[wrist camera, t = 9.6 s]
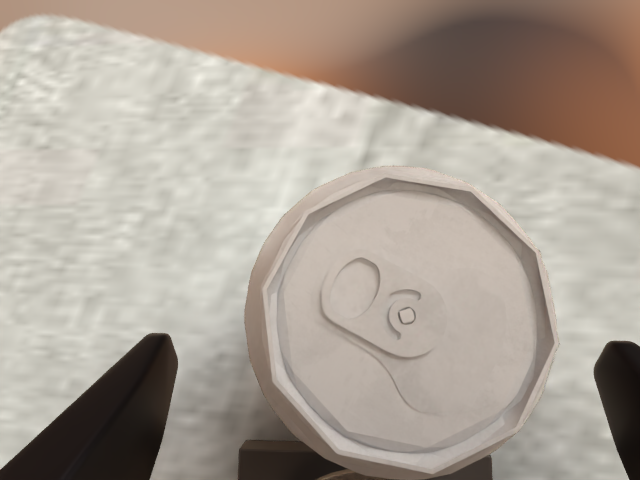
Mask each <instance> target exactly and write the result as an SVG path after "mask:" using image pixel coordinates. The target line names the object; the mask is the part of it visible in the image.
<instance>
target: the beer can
mask: <svg viewBox="0 0 640 480" xmlns="http://www.w3.org/2000/svg"><path fill="white" fill-rule="evenodd" d="M245 330H246V337H247V344H248V351H249V358H250V362H251V364H252V367H253V370H254V372H255V375H256V377H257V380H258V382H259V385H260V387H261V390H262V392H263V395H264V396H265V398H266V399H267V401H268V403H269V404H270V406H271V407H272V409H273V410H274V412H275V413H276V414H277V416H278V417H279V418H280V419H281V420H282V422H283V423H284V424H285V425H286V427H287V428H288V429H289V430H290V432H292V433H293V434H294V435H295V436H296V437H297V438H298V439H300V440H301V441H302V442H304V443H305V444H306V445H308V446H309V447H310V448H311V449H313V450H314V451H315V452H317V453H318V454H319V455H321V456H322V457H323V458H325V459H327V460H329V461H332V462H334V463H336V464H339V465H341V466H343V467H345V468H348V469H350V470H352V471H354V472H357V473H360V474H362V475H365V476H372V477H379V478H386V479H397V480H422V479H429V478H433V477H438V476H443V475H447V474H451V473H453V472H455V471H457V470H459V469H461V468H463V467H465V466H467V465H469V464H471V463H473V462H476V461H478V460H480V459H482V458H483V457H485V456H487V455H489V454H490V453H492V452H494V451H496V450H497V449H498V448H499V447H500V446H502V445H503V444H504V443H505V442H506V441H508V440H509V439H510V438H511V437H512V436H514V435H515V434H516V433H517V432H519V431H520V429H521V427H522V425H523V424H524V423H525V422H526V420H527V419H528V417H529V416H530V414H531V412H532V411H533V409H534V407H535V406H536V404H537V403H538V401H539V399H540V398H541V396H542V393H543V390H544V387H545V384H546V381H547V378H548V375H549V372H550V369H551V366H552V363H553V360H554V356H555V353H556V351H557V349H558V347H559V344H560V343H559V339H558V334H557V328H556V315H555V309H554V303H553V298H552V294H551V289H550V284H549V279H548V274H547V270H546V268H545V266H544V264H543V262H542V258H541V254H540V251H539V250H538V249H537V248H536V247H535V245H534V244H533V242H532V241H531V239H530V238H529V237H528V235H527V234H526V233H525V232H524V231H523V230H522V228H521V227H520V226H519V225H518V224H517V222H516V221H515V220H514V219H513V218H512V217H511V216H510V215H509V213H508V212H507V211H506V210H505V209H504V208H503V207H502V206H501V205H500V204H499V203H497V202H496V201H494V200H493V199H491V198H490V197H488V196H487V195H485V194H484V193H482V192H481V191H479V190H478V189H476V188H475V187H473V186H472V185H470V184H469V183H467V182H465V181H462V180H459V179H456V178H453V177H450V176H448V175H445V174H442V173H439V172H436V171H433V170H430V169H426V168H416V167H406V166H382V167H375V168H370V169H365V170H360V171H355V172H351V173H349V174H346V175H344V176H342V177H340V178H337V179H335V180H333V181H331V182H328V183H326V184H324V185H322V186H320V187H318V188H316V189H315V190H313V191H311V192H310V193H309V194H307V195H306V196H305V197H304V198H303V199H302V200H300V201H299V202H298V203H297V204H296V205H295V206H294V207H293V208H291V209H290V210H289V211H288V212H287V213H286V214H285V215H284V216H283V217H282V218H281V219H280V221H279V222H278V224H277V225H276V226H275V228H274V229H273V231H272V232H271V233H270V235H269V236H268V238H267V239H266V241H265V242H264V244H263V246H262V249H261V251H260V253H259V256H258V258H257V260H256V263H255V265H254V267H253V269H252V272H251V276H250V282H249V286H248V293H247V299H246V305H245Z"/></svg>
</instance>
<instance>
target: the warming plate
mask: <svg viewBox="0 0 640 480" xmlns="http://www.w3.org/2000/svg"><path fill="white" fill-rule="evenodd" d="M316 480H397V479H386V478H379V477H372V476H365V475H362V474H360V473H357V472H354V471H352V470H350V469H346V470H341V471H337V472H333V473H330V474H328V475H325V476H322V477H320V478H318V479H316Z"/></svg>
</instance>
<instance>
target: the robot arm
mask: <svg viewBox="0 0 640 480" xmlns="http://www.w3.org/2000/svg"><path fill="white" fill-rule="evenodd" d="M177 369H178V359H177V355H176V352H175V349H174V346H173V343H172V340H171V337H170V336H169V335H168V334H166V333H150V334H148V335H146V336H145V337H144V338H143V339H142V340H141V341H140V342H139V343H137V344H136V345H135V346H134V347H133V348H132V349H131V350H130V351H129V352H128V353H127V354H126V355H124V356H123V357H122V358H121V359H120V360H119V361H118V362H117V363H116V364H115V365H114V366H113V367H111V368H110V369H109V370H108V371H107V372H106V373H105V374H104V375H103V376H102V377H101V378H99V379H98V380H97V381H96V382H95V383H94V384H93V385H92V386H91V387H90V388H89V389H88V390H86V391H85V392H84V393H83V394H82V395H81V396H80V397H79V398H78V399H77V400H76V401H75V402H73V403H72V404H71V405H70V406H69V407H68V408H67V409H66V410H65V411H64V412H63V413H62V414H60V415H59V416H58V417H57V418H56V419H55V420H54V421H53V422H52V423H51V424H50V425H49V426H47V427H46V428H45V429H44V430H43V431H42V432H41V433H40V434H39V435H38V436H37V437H35V438H34V439H33V440H32V441H31V442H30V443H29V444H28V445H27V446H26V447H25V448H24V449H22V450H21V451H20V452H19V453H18V454H17V455H16V456H15V457H14V458H13V459H12V460H11V461H9V462H8V463H7V464H6V465H5V466H4V467H3V468H2V469H1V470H0V480H149V479H150V476H151V473H152V470H153V467H154V464H155V461H156V458H157V455H158V452H159V449H160V445H161V442H162V439H163V435H164V430H165V426H166V421H167V416H168V412H169V407H170V402H171V397H172V393H173V388H174V383H175V378H176V374H177ZM594 378H595V381H596V385H597V388H598V391H599V394H600V397H601V401H602V404H603V407H604V410H605V414H606V417H607V420H608V423H609V427H610V430H611V433H612V436H613V439H614V442H615V445H616V448H617V451H618V453H619V456H620V458H621V461H622V463H623V466H624V468H625V470H626V473H627V475H628V477H629V480H640V346H638V345H637V344H635V343H633V342H630V341H610V342H608V343H607V344H606V346H605V348H604V349H603V351H602V353H601V355H600V357H599V358H598V360H597V362H596V364H595V366H594Z"/></svg>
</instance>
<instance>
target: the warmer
mask: <svg viewBox="0 0 640 480" xmlns="http://www.w3.org/2000/svg"><path fill="white" fill-rule="evenodd" d="M346 469H348V468H345V467H343V466H341V465H339V464H336V463H334V462H332V461H329V460H327V459H325V458H323V457H322V456H321V455H319V454H318V453H317V452H315V451H314V450H313V449H311V448H310V447H309V446H308V445H306V444H305V443H304V442H301V441H263V440H246V441H245V442H244V444H243V445H242V447H241V448H240V450H239V465H238V480H316V479H318V478H320V477H322V476H325V475H328V474H330V473H333V472H337V471H341V470H346ZM422 480H492V458H491V456H490V455H487V456H485V457H483V458H482V459H480V460H478V461H476V462H473V463H471V464H469V465H467V466H465V467H463V468H461V469H459V470H457V471H455V472H453V473H451V474H447V475H443V476H438V477H433V478H429V479H422Z"/></svg>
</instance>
